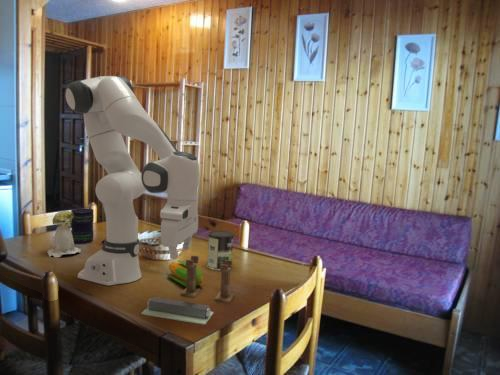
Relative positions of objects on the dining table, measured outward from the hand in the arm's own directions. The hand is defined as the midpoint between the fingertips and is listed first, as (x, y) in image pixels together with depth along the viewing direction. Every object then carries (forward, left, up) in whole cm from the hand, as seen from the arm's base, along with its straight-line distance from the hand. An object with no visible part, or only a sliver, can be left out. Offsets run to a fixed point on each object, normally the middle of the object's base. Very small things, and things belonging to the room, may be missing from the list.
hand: (180, 253), depth 121 cm
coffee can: (-1, +46, -19) cm, 50 cm away
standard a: (-2, +16, -19) cm, 25 cm away
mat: (0, 0, -19) cm, 19 cm away
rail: (0, 0, -18) cm, 18 cm away
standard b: (+10, +16, -19) cm, 27 cm away
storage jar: (-71, +55, -19) cm, 92 cm away
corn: (-8, +25, -19) cm, 32 cm away
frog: (-67, +37, -19) cm, 79 cm away
